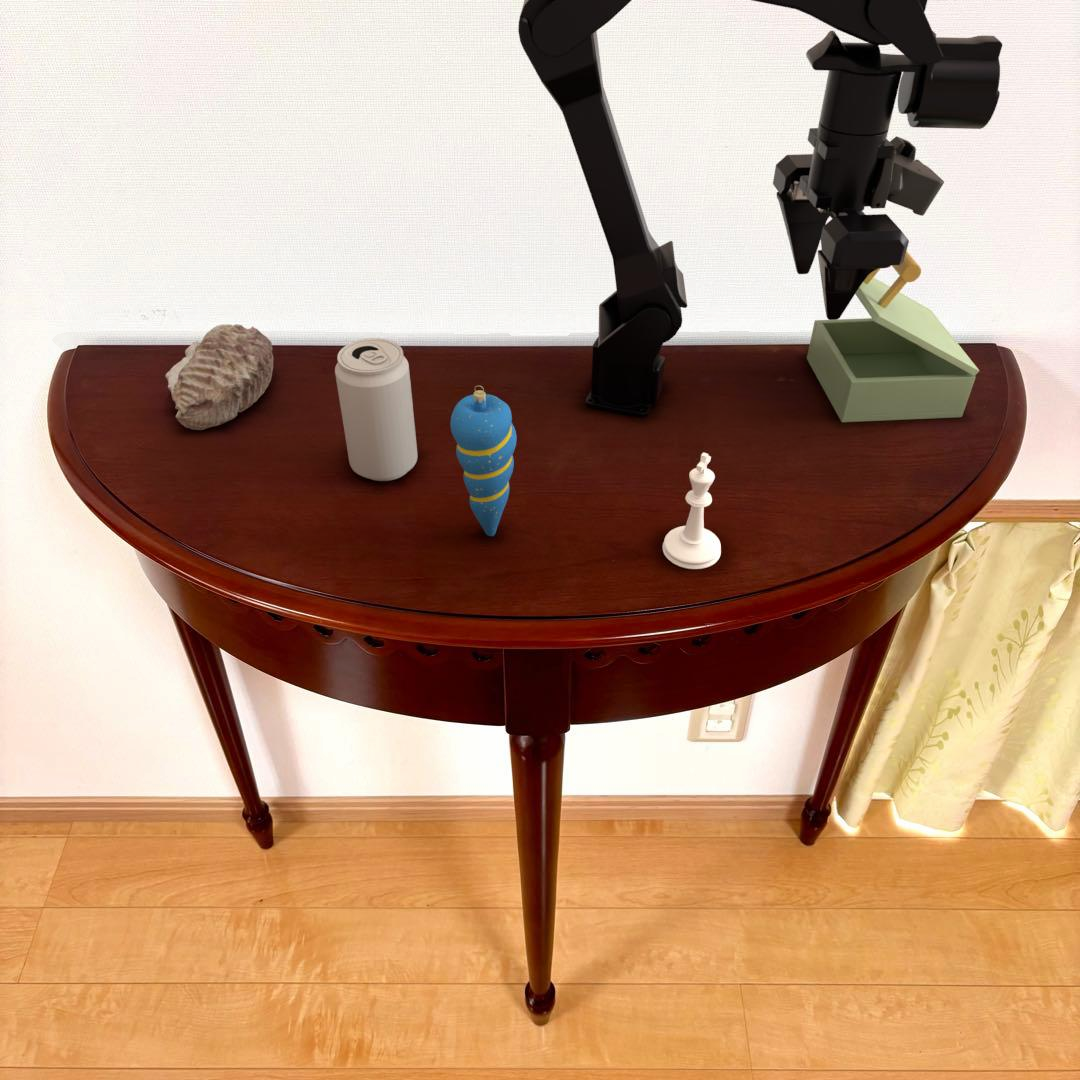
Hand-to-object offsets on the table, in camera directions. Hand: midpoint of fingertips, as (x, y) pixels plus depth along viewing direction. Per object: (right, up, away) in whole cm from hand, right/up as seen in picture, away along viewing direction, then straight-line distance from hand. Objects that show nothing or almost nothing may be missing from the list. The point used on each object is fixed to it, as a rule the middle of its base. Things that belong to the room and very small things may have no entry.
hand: (817, 295), depth 91 cm
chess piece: (-13, -24, -9) cm, 29 cm away
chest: (+10, -7, +10) cm, 16 cm away
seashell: (-59, -8, +9) cm, 60 cm away
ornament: (-31, -23, -8) cm, 39 cm away
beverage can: (-41, -16, 0) cm, 44 cm away
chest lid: (+10, -1, +5) cm, 11 cm away
